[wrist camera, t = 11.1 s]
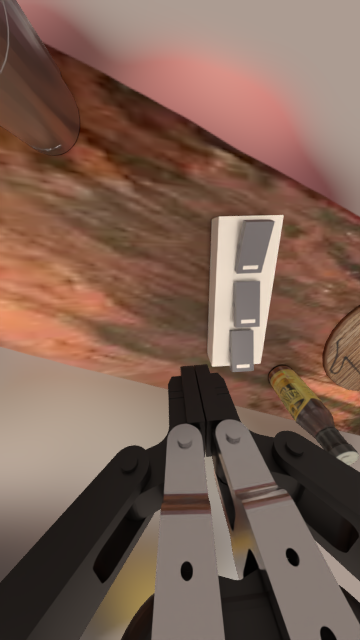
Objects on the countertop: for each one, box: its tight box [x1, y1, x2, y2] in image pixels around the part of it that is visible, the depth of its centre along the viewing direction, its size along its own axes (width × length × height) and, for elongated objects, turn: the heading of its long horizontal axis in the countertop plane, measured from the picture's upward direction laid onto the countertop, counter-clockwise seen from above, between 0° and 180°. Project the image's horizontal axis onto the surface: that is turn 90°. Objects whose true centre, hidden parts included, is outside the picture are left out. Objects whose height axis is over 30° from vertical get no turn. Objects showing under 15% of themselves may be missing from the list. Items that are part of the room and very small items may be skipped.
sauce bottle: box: [269, 366, 359, 465], centre depth 40 cm, size 6×6×20 cm
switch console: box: [207, 215, 284, 367], centre depth 38 cm, size 27×10×5 cm, turn 1°
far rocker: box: [229, 329, 254, 372], centre depth 37 cm, size 8×4×2 cm, turn 2°
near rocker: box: [234, 219, 275, 274], centre depth 30 cm, size 8×4×2 cm, turn 1°
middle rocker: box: [233, 281, 260, 328], centre depth 34 cm, size 8×4×2 cm, turn 2°
